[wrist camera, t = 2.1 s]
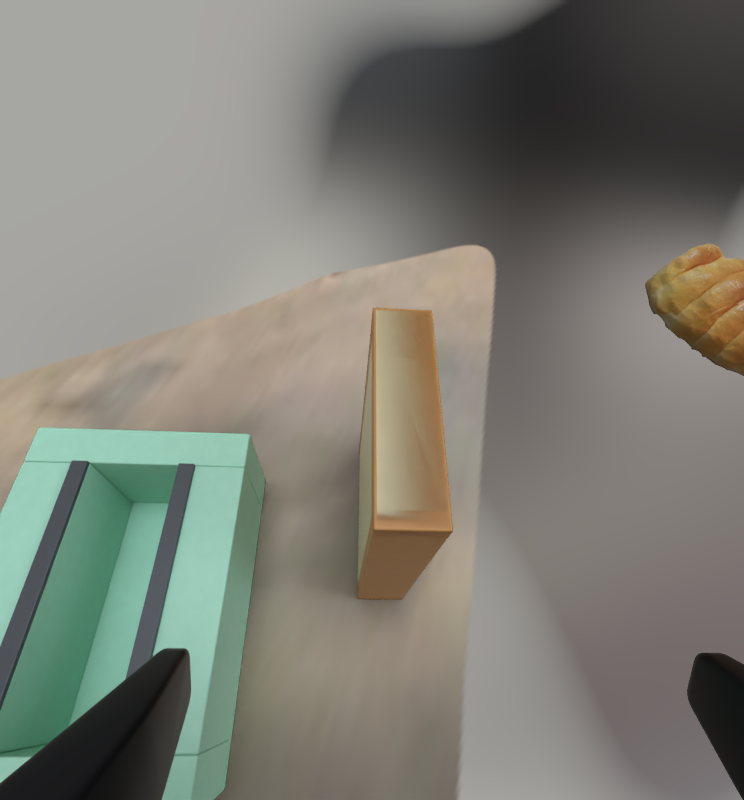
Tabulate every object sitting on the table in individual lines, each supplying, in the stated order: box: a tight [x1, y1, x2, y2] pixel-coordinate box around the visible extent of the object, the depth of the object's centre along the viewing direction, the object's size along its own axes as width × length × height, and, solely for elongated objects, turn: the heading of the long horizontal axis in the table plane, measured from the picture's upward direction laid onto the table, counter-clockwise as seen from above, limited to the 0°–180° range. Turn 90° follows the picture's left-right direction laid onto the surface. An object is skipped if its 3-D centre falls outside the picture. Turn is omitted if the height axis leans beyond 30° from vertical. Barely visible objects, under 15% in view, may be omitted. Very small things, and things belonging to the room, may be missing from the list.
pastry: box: [645, 244, 744, 376], centre depth 29 cm, size 9×7×4 cm
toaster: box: [0, 427, 266, 800], centre depth 17 cm, size 12×10×5 cm
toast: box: [357, 308, 453, 599], centre depth 18 cm, size 8×2×10 cm, turn 0°
